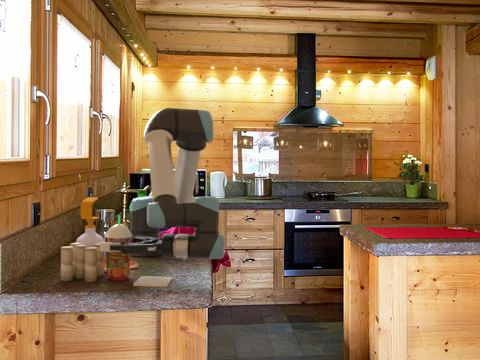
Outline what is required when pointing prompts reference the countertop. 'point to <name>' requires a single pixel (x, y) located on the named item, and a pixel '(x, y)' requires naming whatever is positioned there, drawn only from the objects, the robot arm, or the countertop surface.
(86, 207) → the soap bottle
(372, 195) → the countertop surface
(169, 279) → the plate
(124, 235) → the smoothie
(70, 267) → the spacer posts
